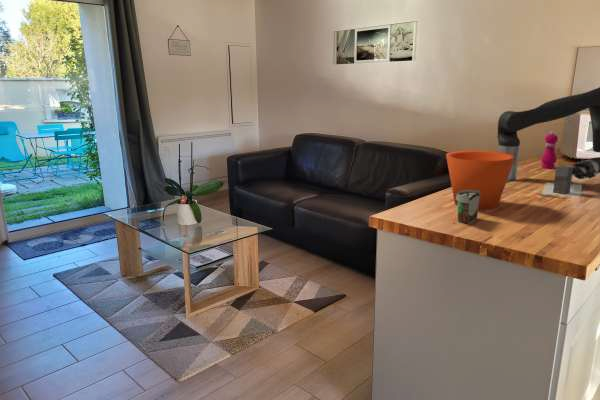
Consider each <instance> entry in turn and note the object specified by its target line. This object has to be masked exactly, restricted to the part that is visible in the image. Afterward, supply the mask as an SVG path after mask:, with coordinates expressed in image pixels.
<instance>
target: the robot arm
mask: <svg viewBox="0 0 600 400" xmlns="http://www.w3.org/2000/svg"><path fill="white" fill-rule="evenodd" d="M587 109H588V112H589V116H590V123H591V129H592V130H591V131H592V151H593V152H594V153H600V86H599V87H597V88H595V89H592V90H589V91H585V92H582V93H579V94H574V95H568V96H564V97H560V98H555V99H552V100H549V101H546V102H544V103H542V104H541V105H538V106H537V107H535V108H531V109H528V110H523V111H512V110H508V111H504V112H503V113H501V115H500V116H499V118H498V122H497V141H498V145H497V146H498V147H497V152H503V153H508V154H512V155H514V156H515V159H514V162H513V165H512V168H511V170H510V173H509V176H508V179H507V182H506V183H511V182H514V181H515V182H516V181H517V177H518V176H517V174H518V166H519V165H518V163H519V153H520V146H521V145H520V144H521V140H520V138H519V136H518V132H519V131H521V130H525V129H527V128H529V127H532V126H535V125H538V124H543V123H549V122H551V121H557V120H560V119H564V118H567V117H570V116H572V115H575V114H577V113H579V112H583V111H584V110H587ZM571 167H573V172H572V177H574V178H576V179H579V180H584V179H587V178H588V179H593V178H595V177H596V176H597V174H600V156H599V157H598V156H597V157H592V158H589V159H586V160H582V161H578V162H576V163H574V164H573V165H572V166H571Z"/></svg>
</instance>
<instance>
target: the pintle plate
mask: <svg viewBox="0 0 600 400" xmlns="http://www.w3.org/2000/svg"><path fill="white" fill-rule="evenodd" d="M582 187H583V185H582V184H572V183H571V187H570V193H568V194H565V195H564V194H558V193H553V189H554V182H547V181H546V182H545V185H544V187H543V189H542V191H541V194H540V197H544V198H555V199H561V197H558V196H562V197H563V199H564V200H565V199H567V198H566V197H572V198H581V195H582ZM564 197H565V198H564Z"/></svg>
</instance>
